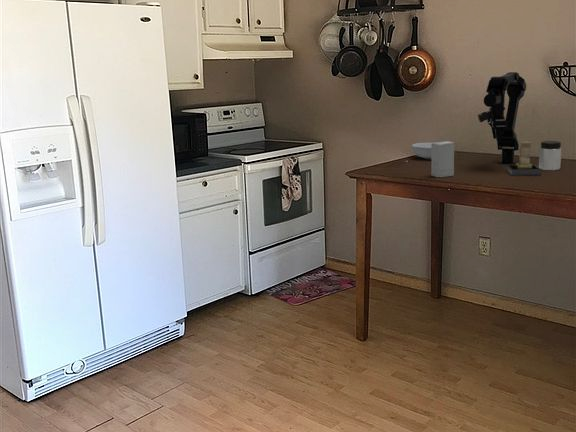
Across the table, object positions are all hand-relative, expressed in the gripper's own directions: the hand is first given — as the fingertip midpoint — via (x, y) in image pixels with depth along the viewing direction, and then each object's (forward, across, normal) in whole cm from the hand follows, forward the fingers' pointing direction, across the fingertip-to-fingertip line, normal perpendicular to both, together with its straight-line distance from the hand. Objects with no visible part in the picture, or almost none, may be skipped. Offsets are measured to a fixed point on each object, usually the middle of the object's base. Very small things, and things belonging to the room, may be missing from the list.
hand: (496, 139), depth 290 cm
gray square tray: (+13, +13, +10) cm, 21 cm away
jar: (+13, +3, +23) cm, 27 cm away
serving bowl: (+13, -32, -26) cm, 44 cm away
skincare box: (+13, +18, -25) cm, 34 cm away
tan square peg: (+12, +13, +10) cm, 21 cm away
